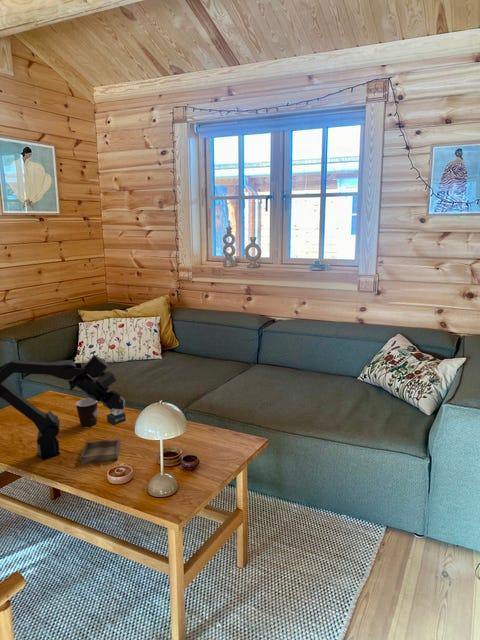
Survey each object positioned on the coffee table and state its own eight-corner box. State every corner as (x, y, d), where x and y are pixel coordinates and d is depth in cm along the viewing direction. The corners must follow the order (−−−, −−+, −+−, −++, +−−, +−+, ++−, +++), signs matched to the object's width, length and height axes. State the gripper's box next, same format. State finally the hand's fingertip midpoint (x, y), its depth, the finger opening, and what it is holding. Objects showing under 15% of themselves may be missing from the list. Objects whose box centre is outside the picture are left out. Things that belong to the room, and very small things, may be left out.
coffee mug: (86, 430, 192) (83, 407, 190) (73, 425, 197) (71, 403, 195) (109, 420, 201) (107, 398, 199) (97, 416, 206) (95, 394, 204)
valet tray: (81, 463, 166) (80, 457, 165) (86, 448, 177) (85, 442, 176) (117, 460, 168) (116, 453, 167) (120, 445, 179) (120, 438, 178)
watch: (116, 426, 179) (114, 399, 177) (104, 421, 184) (102, 394, 182) (128, 422, 183) (127, 395, 181) (116, 416, 189) (115, 390, 186)
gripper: (113, 372, 169) (142, 393, 179) (90, 362, 183) (118, 382, 192) (95, 399, 166) (125, 419, 175) (72, 386, 179) (101, 405, 189)
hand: (117, 405), depth 183 cm, fingers closed on watch, 8 cm apart
